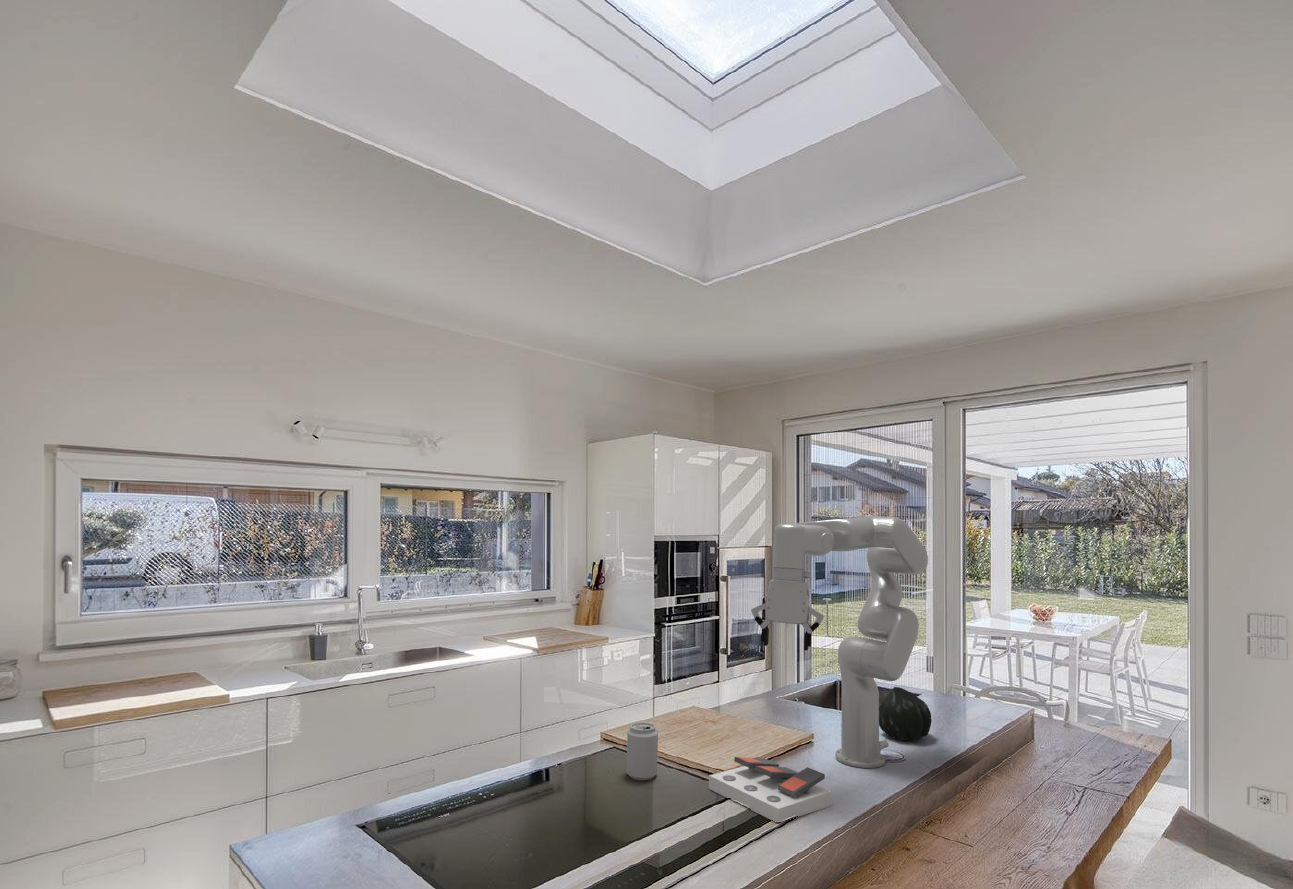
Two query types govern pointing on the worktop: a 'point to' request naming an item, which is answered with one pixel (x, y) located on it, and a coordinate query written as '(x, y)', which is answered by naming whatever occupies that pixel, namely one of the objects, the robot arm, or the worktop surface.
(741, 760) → the rocker
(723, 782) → the rocker switch panel
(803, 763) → the worktop surface
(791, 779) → the rocker
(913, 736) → the squash
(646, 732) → the can
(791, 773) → the rocker middle
